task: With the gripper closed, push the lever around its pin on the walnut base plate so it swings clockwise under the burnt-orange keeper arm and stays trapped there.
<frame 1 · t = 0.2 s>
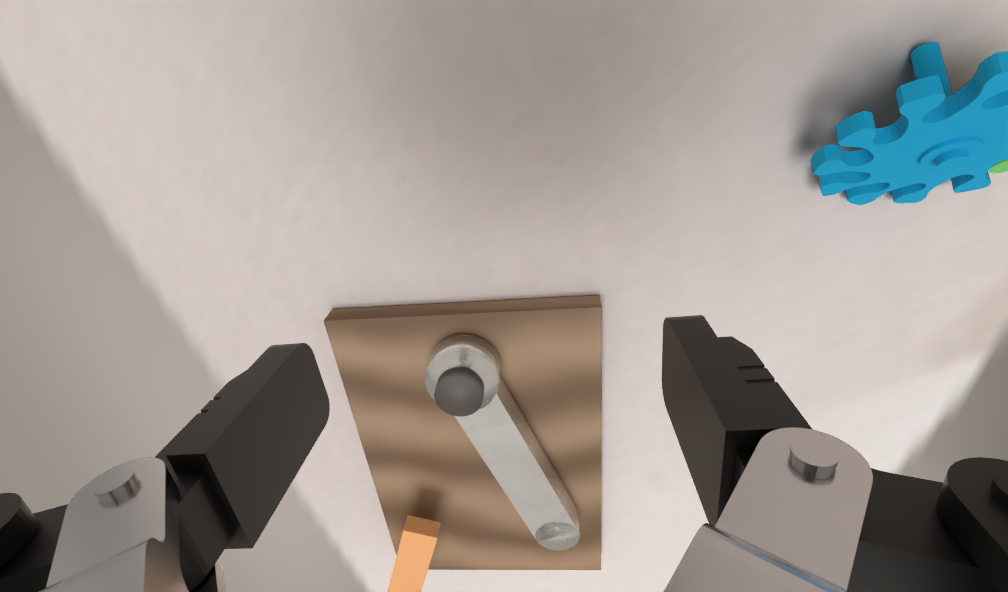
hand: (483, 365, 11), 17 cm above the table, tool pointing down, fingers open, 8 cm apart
gear: (899, 127, 24), on the table
keeper: (426, 501, 39), resting on base plate
lever: (512, 452, 32), point 3 cm above the table, hinge at 20.0°
base plate: (484, 447, 36), on the table
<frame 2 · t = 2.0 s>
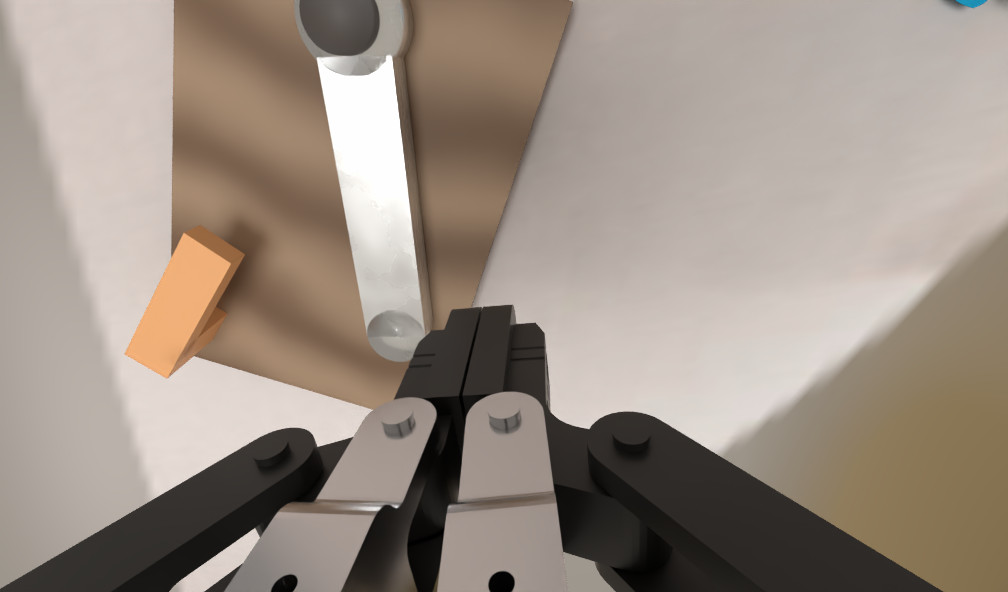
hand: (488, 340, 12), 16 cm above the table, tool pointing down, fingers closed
keeper: (240, 262, 29), resting on base plate
lever: (380, 188, 24), point 3 cm above the table, hinge at 20.0°
base plate: (344, 200, 27), on the table
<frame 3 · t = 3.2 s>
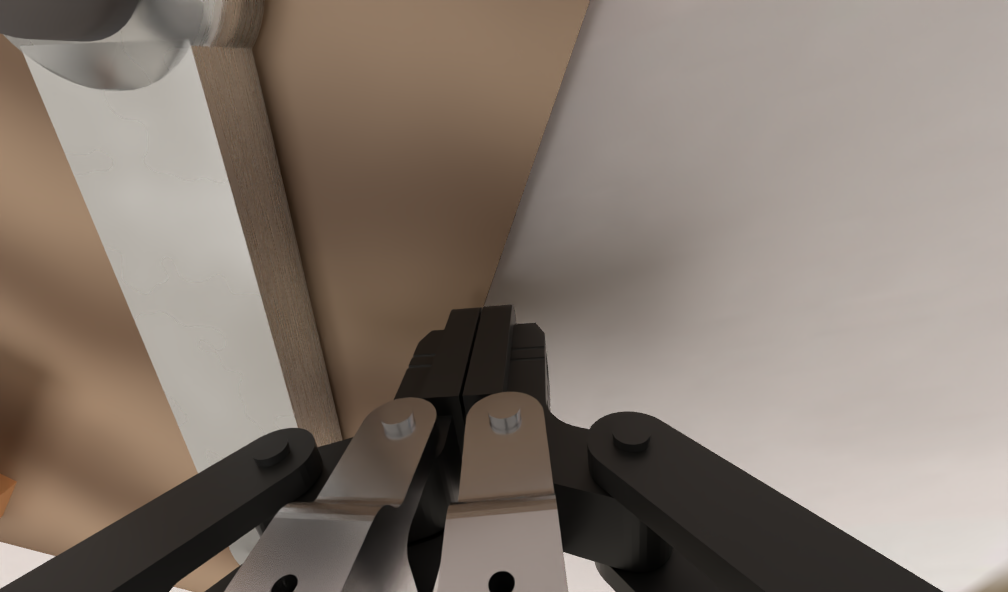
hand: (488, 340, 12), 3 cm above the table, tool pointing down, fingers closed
keeper: (40, 394, 17), resting on base plate
lever: (228, 307, 12), point 3 cm above the table, hinge at 20.0°
base plate: (195, 303, 15), on the table
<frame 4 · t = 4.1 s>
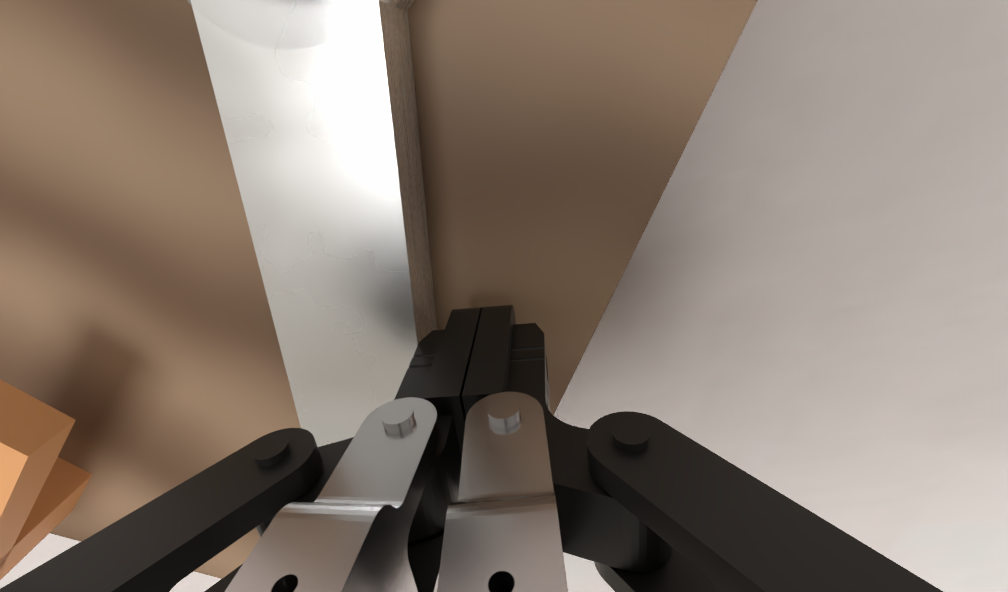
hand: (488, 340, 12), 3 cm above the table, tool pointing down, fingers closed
keeper: (116, 383, 17), resting on base plate
lever: (356, 288, 11), point 3 cm above the table, hinge at 19.9°, touching gripper
base plate: (293, 288, 15), on the table
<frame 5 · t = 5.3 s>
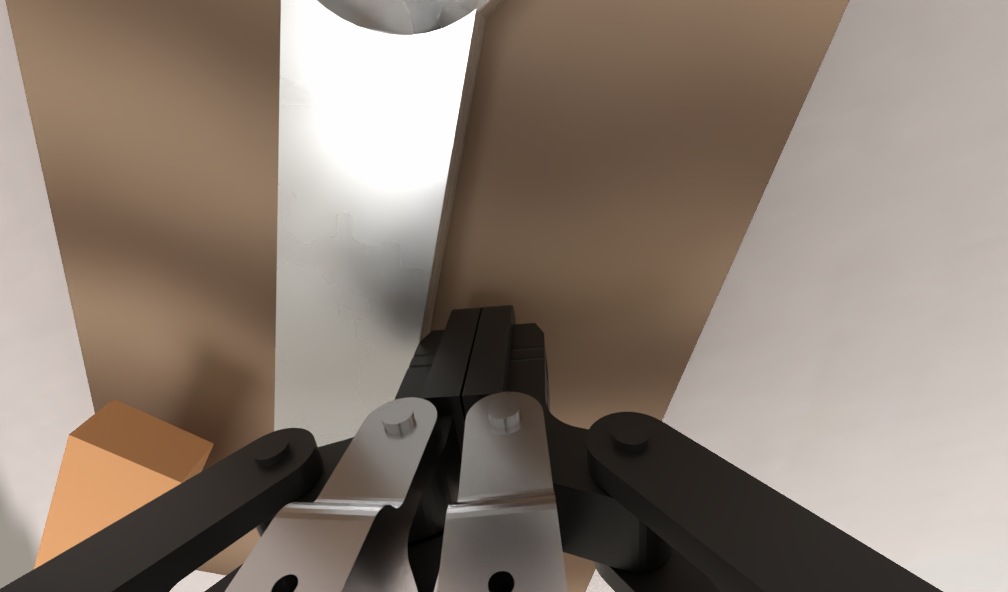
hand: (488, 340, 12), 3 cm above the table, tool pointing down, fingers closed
keeper: (222, 410, 17), resting on base plate
lever: (365, 273, 11), point 3 cm above the table, hinge at -1.1°, touching gripper
base plate: (393, 293, 14), on the table
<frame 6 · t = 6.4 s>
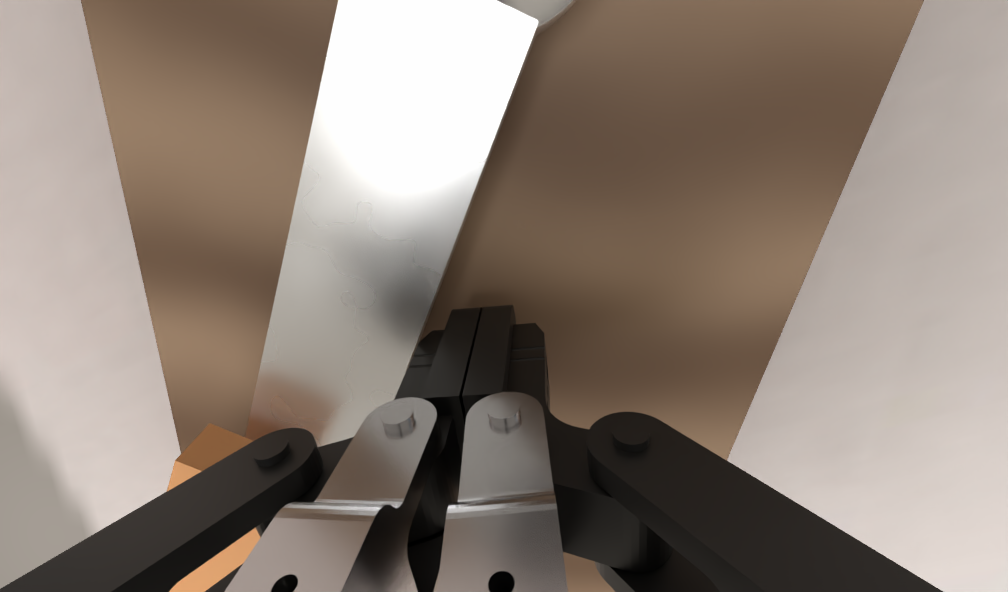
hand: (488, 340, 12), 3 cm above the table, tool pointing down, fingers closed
keeper: (295, 429, 17), resting on base plate
lever: (372, 263, 11), point 3 cm above the table, hinge at -15.0°, touching gripper
base plate: (462, 302, 14), on the table
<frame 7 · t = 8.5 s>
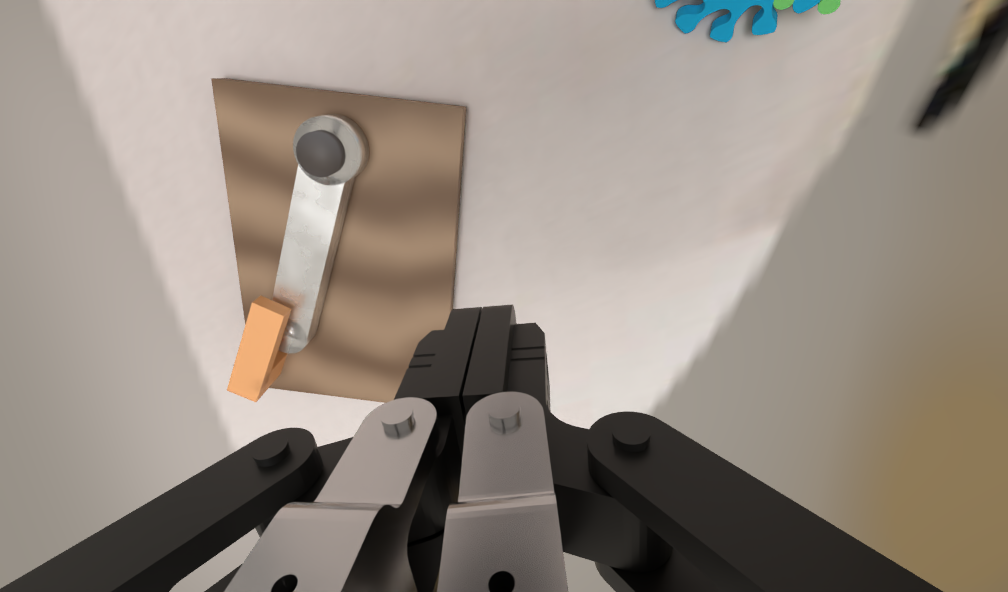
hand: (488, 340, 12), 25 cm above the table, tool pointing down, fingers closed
keeper: (290, 316, 41), resting on base plate
lever: (311, 244, 35), point 3 cm above the table, hinge at -15.1°
base plate: (350, 260, 39), on the table
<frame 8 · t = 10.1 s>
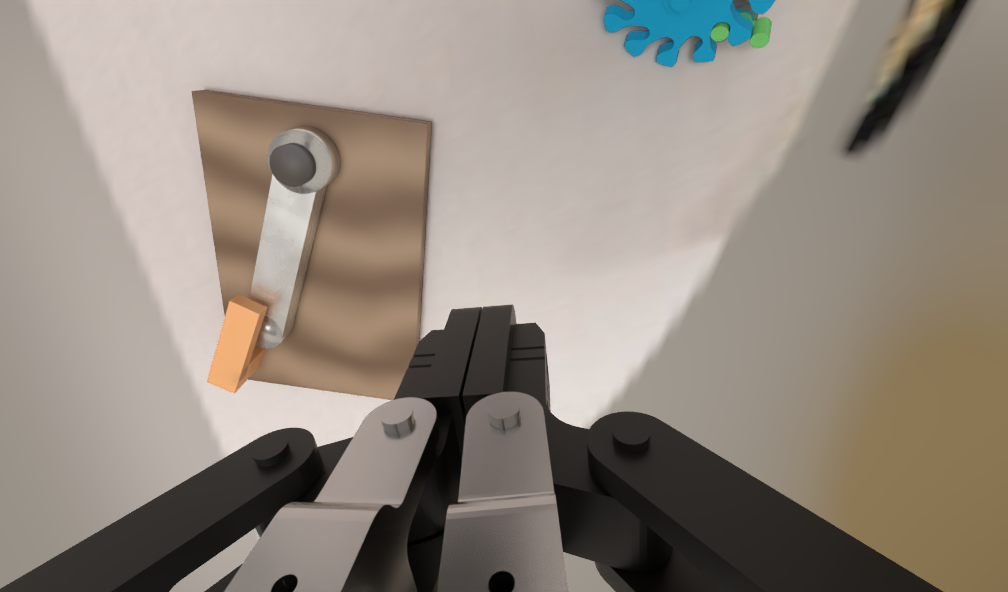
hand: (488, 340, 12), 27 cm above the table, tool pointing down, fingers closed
gear: (673, 2, 32), on the table
keeper: (268, 312, 44), resting on base plate
lever: (286, 246, 38), point 3 cm above the table, hinge at -15.1°
base plate: (324, 261, 41), on the table
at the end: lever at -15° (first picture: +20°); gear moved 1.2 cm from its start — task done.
